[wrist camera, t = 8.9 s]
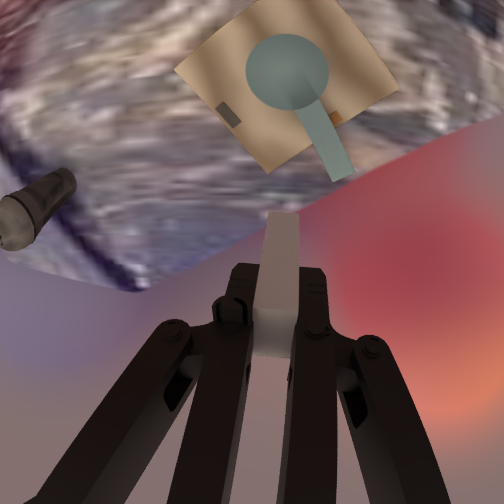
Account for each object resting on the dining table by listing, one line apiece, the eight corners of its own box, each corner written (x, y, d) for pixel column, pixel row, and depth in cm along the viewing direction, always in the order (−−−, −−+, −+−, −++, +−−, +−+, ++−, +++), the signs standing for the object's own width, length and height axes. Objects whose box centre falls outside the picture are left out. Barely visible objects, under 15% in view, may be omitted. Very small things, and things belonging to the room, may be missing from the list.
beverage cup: (58, 149, 36) (-43, 220, 20) (90, 180, 39) (-3, 266, 22) (42, 183, 40) (-44, 257, 23) (72, 211, 42) (-8, 296, 26)
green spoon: (235, 58, 25) (230, 58, 22) (301, 25, 22) (302, 20, 20) (309, 180, 31) (311, 192, 29) (370, 153, 29) (377, 162, 26)
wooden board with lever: (306, -27, 21) (308, -37, 18) (395, 87, 28) (407, 91, 24) (178, 68, 29) (165, 70, 26) (268, 169, 36) (265, 182, 32)
